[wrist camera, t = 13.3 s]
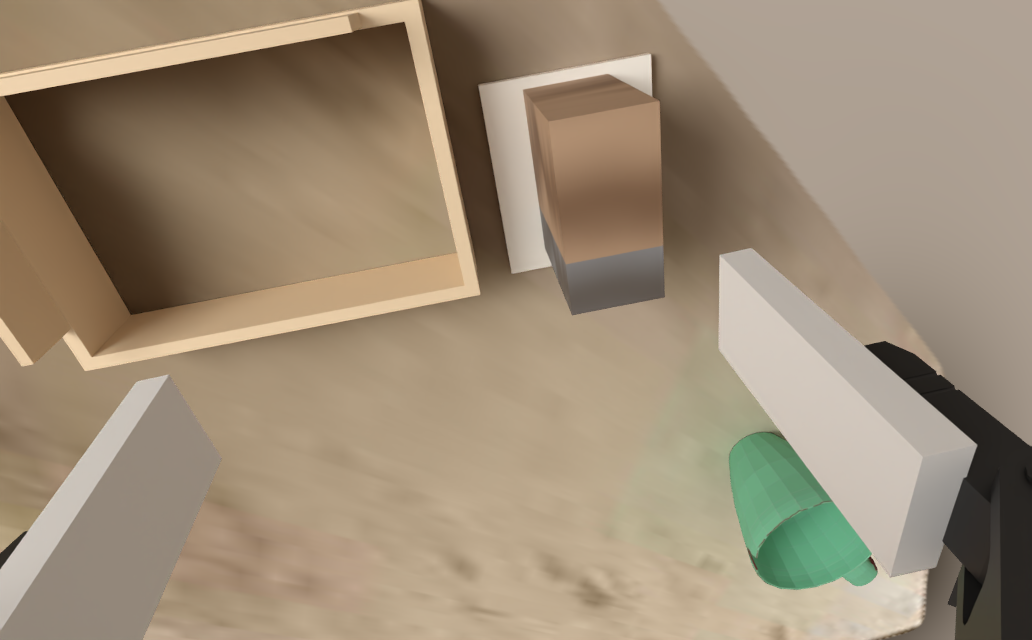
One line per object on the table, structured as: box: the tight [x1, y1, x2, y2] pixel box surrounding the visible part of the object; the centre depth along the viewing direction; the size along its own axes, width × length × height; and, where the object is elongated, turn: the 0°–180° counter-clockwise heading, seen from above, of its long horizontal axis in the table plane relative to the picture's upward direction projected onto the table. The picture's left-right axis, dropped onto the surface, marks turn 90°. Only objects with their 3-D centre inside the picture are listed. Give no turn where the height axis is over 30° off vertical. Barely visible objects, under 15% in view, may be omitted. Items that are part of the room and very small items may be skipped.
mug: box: [729, 432, 877, 590], centre depth 48 cm, size 15×10×10 cm
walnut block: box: [523, 74, 665, 315], centre depth 32 cm, size 10×5×9 cm, turn 9°
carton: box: [0, 0, 481, 371], centre depth 31 cm, size 16×24×8 cm, turn 99°
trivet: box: [478, 53, 652, 274], centre depth 36 cm, size 12×10×1 cm
